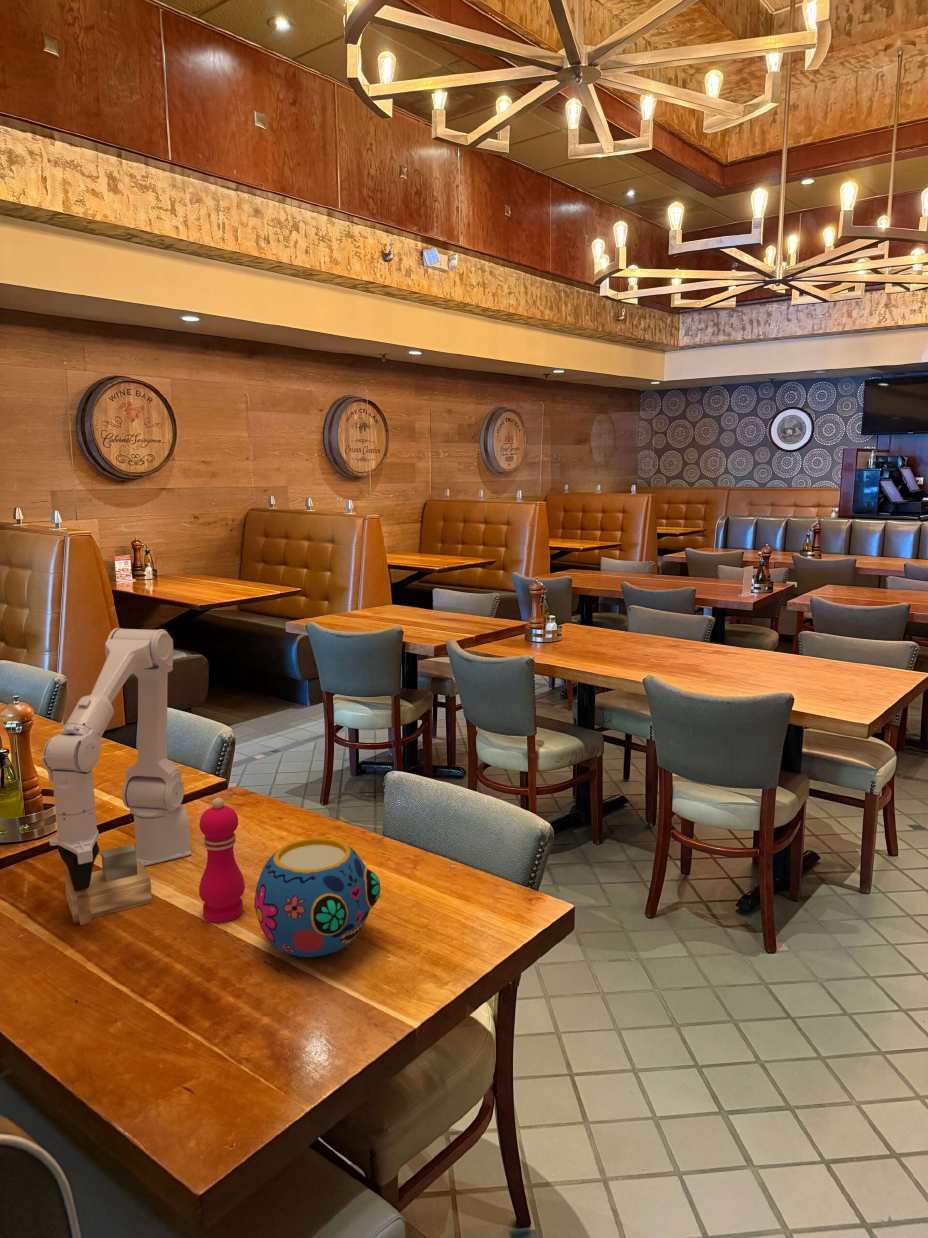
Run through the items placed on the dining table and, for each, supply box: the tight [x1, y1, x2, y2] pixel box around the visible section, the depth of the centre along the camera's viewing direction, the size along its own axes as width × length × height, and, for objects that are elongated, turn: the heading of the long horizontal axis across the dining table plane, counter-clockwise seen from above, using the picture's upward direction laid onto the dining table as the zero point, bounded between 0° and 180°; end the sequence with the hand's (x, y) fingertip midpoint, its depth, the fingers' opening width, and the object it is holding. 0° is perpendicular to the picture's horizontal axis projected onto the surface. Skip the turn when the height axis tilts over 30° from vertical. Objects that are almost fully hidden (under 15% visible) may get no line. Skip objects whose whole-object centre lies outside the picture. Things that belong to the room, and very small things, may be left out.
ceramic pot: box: [253, 837, 381, 958], centre depth 123 cm, size 18×18×15 cm
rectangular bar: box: [64, 863, 87, 892], centre depth 135 cm, size 2×10×2 cm, turn 34°
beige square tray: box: [64, 883, 153, 926], centre depth 136 cm, size 12×11×4 cm
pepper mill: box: [198, 797, 246, 924], centre depth 132 cm, size 7×7×20 cm
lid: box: [64, 844, 152, 902], centre depth 136 cm, size 12×8×5 cm, turn 124°
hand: (81, 888), depth 131 cm, fingers closed
